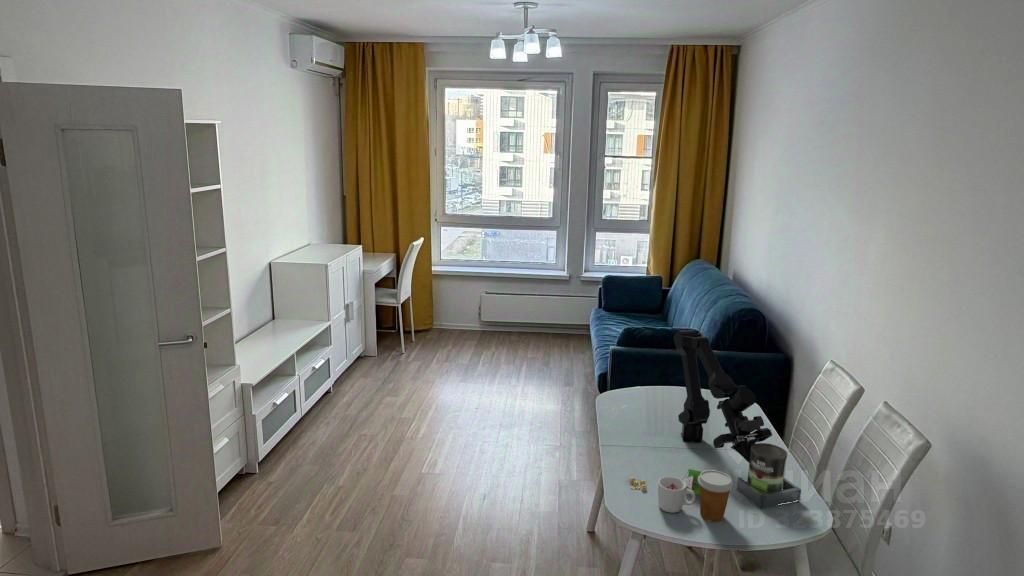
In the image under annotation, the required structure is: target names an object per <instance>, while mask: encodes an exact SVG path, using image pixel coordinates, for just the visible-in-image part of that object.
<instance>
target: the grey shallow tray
mask: <svg viewBox="0 0 1024 576" xmlns="http://www.w3.org/2000/svg"><path fill="white" fill-rule="evenodd" d="M782 489H783V490H781V491H776V492H771V493H765V494H762V493H760V492H759V491H758V490H756V489H755V488H754V487H752V486H751V485H750V484H748V483H747V481H745V480H744V479H743V478H742V477H737V479H736V489H735V490H736V491H737V492H739V493H740V494H741V495H743V497H745V499H747V500H749V501H750V502H751V503H752V504H753V505H755V506H756V507H758V509H759V510H762V509H763V510H764V509H767V508H773V507H772V506H774V507H777V506H776V505H778V504H781V503H787V502H793V501H796V500H800V501H801V493H802V488H800V487H798V486H797V485H795V484H794V483H792V482H791V481H789V479H787V478H785V477H784V480H783V487H782Z"/></svg>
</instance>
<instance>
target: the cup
mask: <svg viewBox="0 0 1024 576" xmlns="http://www.w3.org/2000/svg"><path fill="white" fill-rule="evenodd" d="M658 479H659V480H657V494H658V495H657V497H658V498H657V501H658V506H659V508H660V509H661V510H662V511H664V512H667V513H671V514H675V513H678V512H680V511H681V510H682V508H683V506H692V505H694V504H695V501H696V495H697V494H695V493H694V491H692V490H690V489H687V488H686V487H687V486H686V484H685V482H684V481H682V480H683V479H682V478H681V479H680V478H678V477H675V476H663V477H660V478H658ZM689 494H690V495H691V496H692V499H691V500H690V501H688V499H687V498H686V496H687V495H689Z"/></svg>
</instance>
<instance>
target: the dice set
mask: <svg viewBox="0 0 1024 576" xmlns="http://www.w3.org/2000/svg"><path fill="white" fill-rule="evenodd" d="M629 482H630V484H633V486H631V487H630V489H632V490H633V489H634V490H640V489H641V491H643V492H646V491H647V485H646V481H645V480H644V479H641V480H640V483H639V481H638V480H636V478H635V477H630V478H629ZM638 484H639V485H638ZM640 485H641V487H640ZM636 488H637V489H636Z"/></svg>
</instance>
